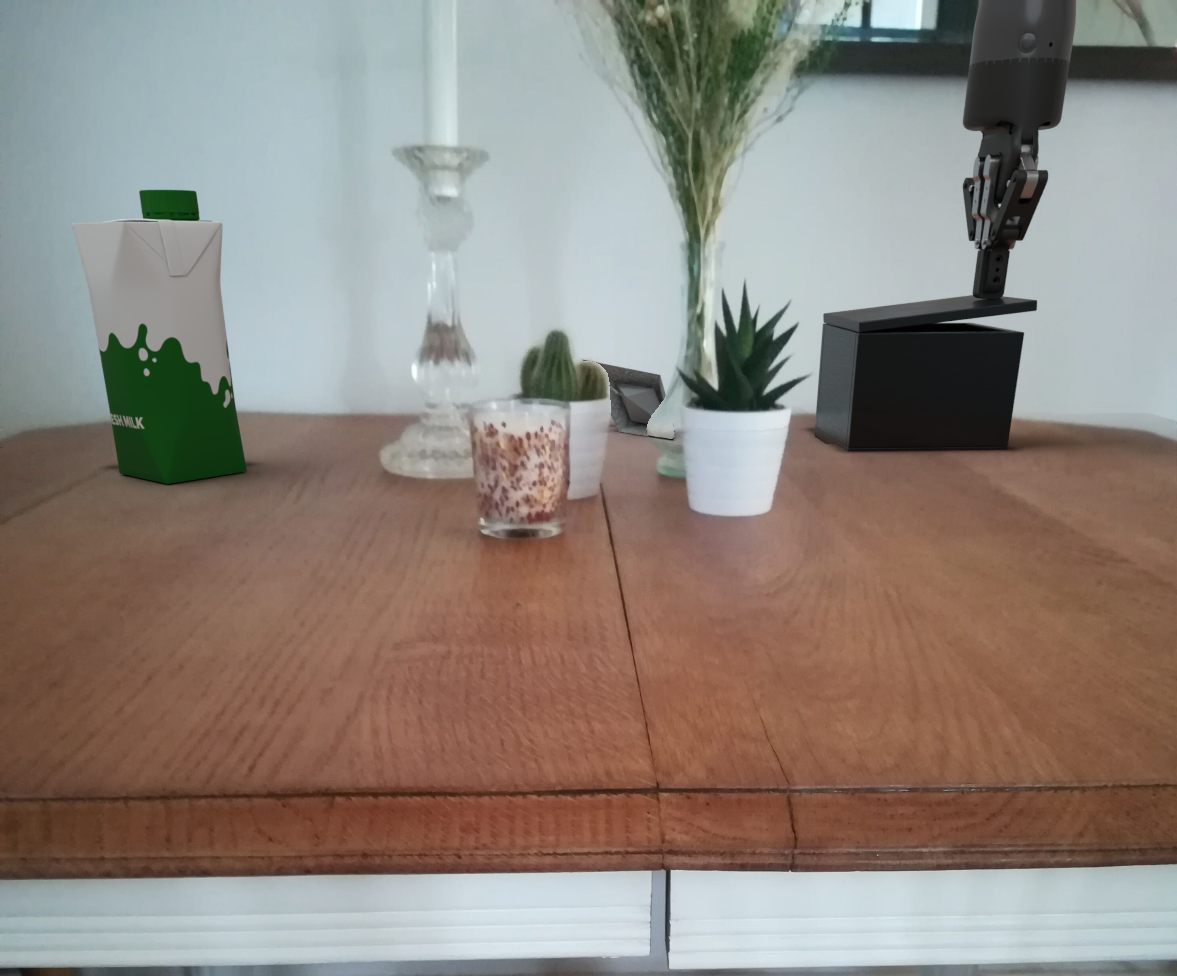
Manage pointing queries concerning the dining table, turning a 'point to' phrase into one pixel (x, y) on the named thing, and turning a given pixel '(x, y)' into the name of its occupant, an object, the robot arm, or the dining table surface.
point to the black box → (918, 387)
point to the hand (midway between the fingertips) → (987, 298)
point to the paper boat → (633, 397)
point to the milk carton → (163, 339)
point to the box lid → (927, 312)
